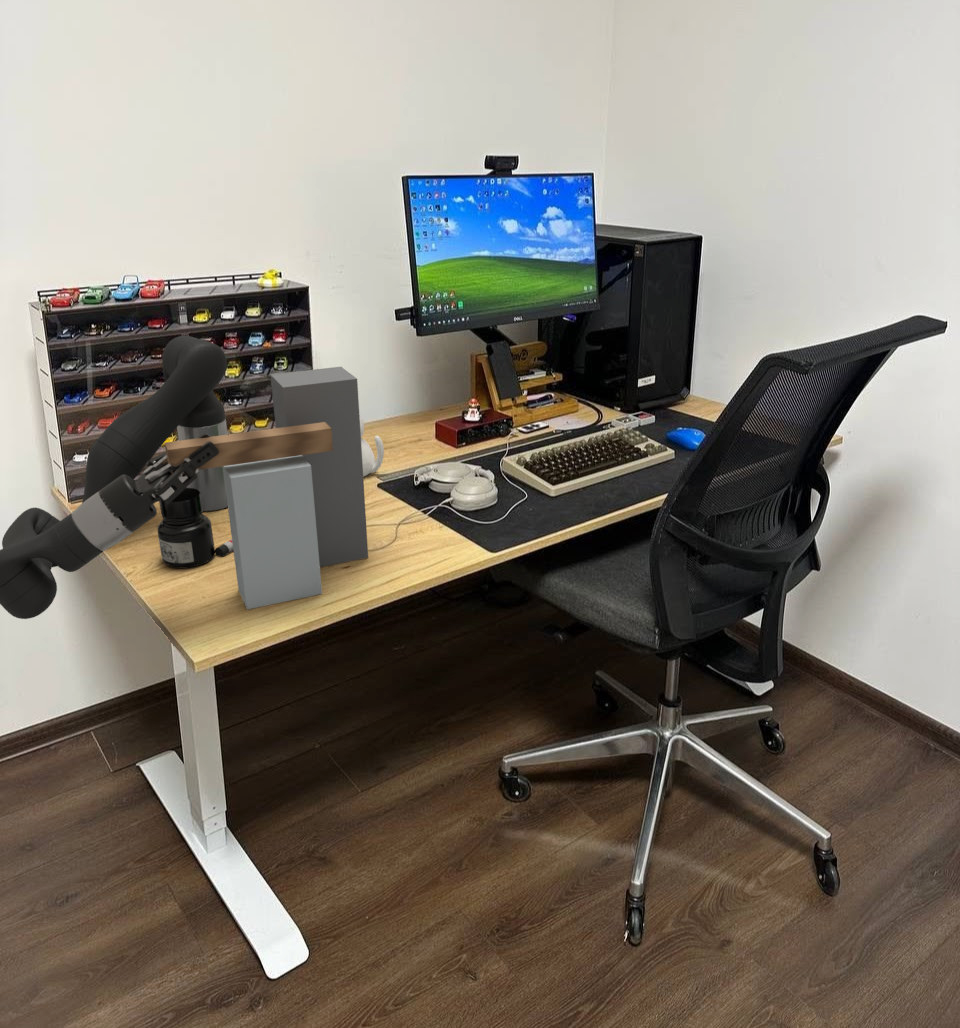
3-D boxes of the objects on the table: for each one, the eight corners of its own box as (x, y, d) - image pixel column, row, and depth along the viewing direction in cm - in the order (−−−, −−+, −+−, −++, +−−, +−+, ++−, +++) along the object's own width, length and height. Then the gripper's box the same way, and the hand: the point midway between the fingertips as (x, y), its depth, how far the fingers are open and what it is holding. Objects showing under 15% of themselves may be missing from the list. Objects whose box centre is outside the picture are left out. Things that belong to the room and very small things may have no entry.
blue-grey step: (247, 609, 139) (230, 478, 130) (238, 590, 145) (222, 463, 136) (322, 593, 143) (311, 465, 135) (310, 575, 149) (299, 452, 141)
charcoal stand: (300, 570, 151) (283, 387, 138) (288, 550, 158) (270, 374, 146) (368, 557, 156) (357, 378, 143) (352, 538, 163) (341, 366, 150)
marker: (224, 558, 156) (222, 548, 155) (215, 556, 157) (214, 546, 156) (278, 526, 169) (277, 517, 168) (270, 524, 170) (269, 515, 169)
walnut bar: (171, 473, 128) (167, 449, 127) (167, 465, 131) (164, 442, 130) (332, 450, 137) (331, 428, 136) (326, 443, 140) (324, 422, 139)
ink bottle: (151, 559, 156) (140, 495, 151) (195, 542, 162) (186, 481, 157) (182, 575, 150) (172, 509, 145) (226, 557, 156) (218, 494, 151)
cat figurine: (337, 465, 199) (331, 400, 193) (391, 467, 197) (387, 402, 191) (324, 479, 191) (317, 412, 185) (380, 482, 189) (375, 414, 183)
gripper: (127, 514, 136) (220, 447, 139) (136, 550, 124) (237, 476, 127) (93, 478, 132) (189, 410, 135) (99, 511, 120) (204, 436, 123)
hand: (212, 442), depth 131 cm, fingers closed on walnut bar, 3 cm apart
